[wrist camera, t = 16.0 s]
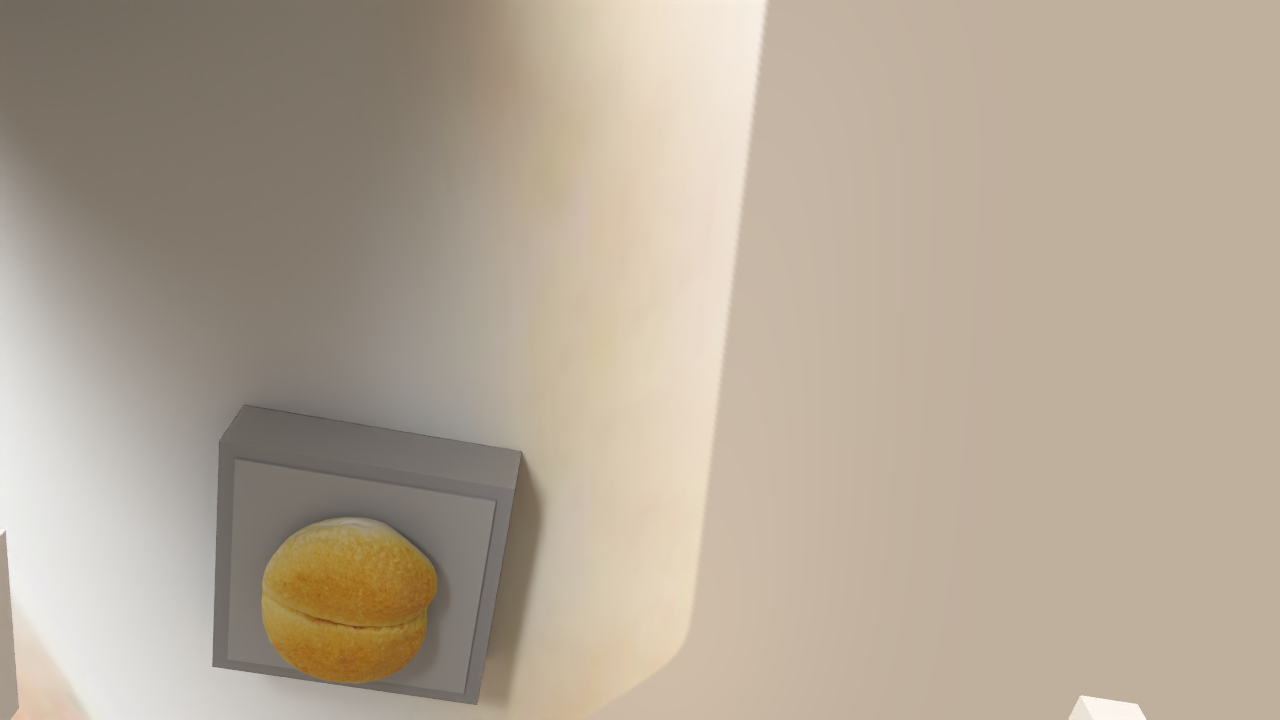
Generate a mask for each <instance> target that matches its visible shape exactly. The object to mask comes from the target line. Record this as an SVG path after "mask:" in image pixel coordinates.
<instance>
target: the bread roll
mask: <svg viewBox="0 0 1280 720" xmlns="http://www.w3.org/2000/svg"><path fill="white" fill-rule="evenodd" d="M436 592H437V575H436V571H435V568H434V566H433V565H432V563H431V562H430V560H429V559H428V558H427V557H426V556H425V555H424V554H423V553H422V552H421V551H420V550H419V549H418V548H416V547H415V546H414V545H413V544H412V543H410V542H409V541H408V540H407V539H406V538H404V537H403V536H402V535H401V534H400V533H398V532H397V531H396V530H395V529H393V528H392V527H390V526H389V525H387V524H386V523H384V522H381V521H377V520H373V519H369V518H363V517H341V518H333V519H327V520H324V521H321V522H317V523H313V524H311V525H309V526H307V527H304V528H302V529H300V530H298V531H297V532H295V533H294V534H292V535H291V536H290V537H289V538H288V539H286V540H285V542H284V543H283V544H282V545H280V547H279V549H278V550H277V551H276V552H275V554H274V555H273V556H272V558H271V559H270V561H269V562H268V564H267V566H266V569H265V572H264V576H263V581H262V600H261V603H262V617H263V624H264V626H265V629H266V632H267V635H268V637H269V640H270V642H271V643H272V645H273V646H274V648H275V650H276V651H277V652H278V653H279V655H280V656H281V657H282V658H283V659H284V660H285V661H286V662H288V663H289V664H290V665H292V666H293V667H294V668H296V669H297V670H299V671H301V672H302V673H305V674H307V675H309V676H312V677H315V678H318V679H321V680H326V681H331V682H339V683H366V682H372V681H377V680H380V679H384V678H386V677H388V676H390V675H392V674H394V673H396V672H398V671H400V670H401V669H403V668H404V667H405V666H406V665H407V664H408V663H409V662H410V661H411V660H412V659H413V658H414V656H415V655H416V654H417V652H418V651H419V649H420V647H421V645H422V643H423V641H424V637H425V633H426V627H427V607H428V606H429V604H430V603H431V602H432V600H433V599H434V597H435V595H436Z"/></svg>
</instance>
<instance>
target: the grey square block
mask: <svg viewBox="0 0 1280 720" xmlns="http://www.w3.org/2000/svg"><path fill="white" fill-rule="evenodd" d="M521 453H522V452H521V451H515V450H509V449H503V448H497V447H491V446H485V445H479V444H473V443H467V442H461V441H455V440H449V439H443V438H437V437H431V436H425V435H419V434H413V433H407V432H401V431H395V430H389V429H383V428H377V427H371V426H365V425H359V424H353V423H347V422H341V421H335V420H329V419H323V418H317V417H311V416H305V415H299V414H293V413H287V412H281V411H275V410H270V409H264V408H258V407H252V406H246V405H244V406H243V407H242V409H241V410H240V412H239V413H238V415H237V416H236V417H235V419H234V420H233V422H232V423H231V425H230V426H229V428H228V429H227V430H226V432H225V433H224V435H223V436H222V438H221V439H220V441H219V469H218V502H217V535H216V568H215V600H214V633H213V666H212V667H218V668H225V669H232V670H239V671H246V672H253V673H260V674H267V675H274V676H281V677H288V678H294V679H301V680H308V681H315V682H322V683H329V684H336V685H343V686H350V687H357V688H364V689H371V690H377V691H384V692H391V693H398V694H405V695H412V696H419V697H426V698H433V699H440V700H447V701H453V702H460V703H467V704H474V705H477V703H478V697H479V691H480V686H481V680H482V675H483V669H484V664H485V658H486V652H487V647H488V641H489V635H490V630H491V624H492V618H493V613H494V607H495V601H496V595H497V590H498V584H499V578H500V573H501V567H502V561H503V556H504V550H505V544H506V539H507V533H508V527H509V521H510V516H511V510H512V504H513V499H514V493H515V487H516V482H517V476H518V470H519V464H520V459H521ZM341 517H363V518H369V519H373V520H377V521H381V522H384V523H386V524H387V525H389V526H390V527H392V528H393V529H395V530H396V531H397V532H398V533H400V534H401V535H402V536H403V537H404V538H406V539H407V540H408V541H409V542H410V543H412V544H413V545H414V546H415V547H416V548H418V549H419V550H420V551H421V552H422V553H423V554H424V555H425V556H426V557H427V558H428V559H429V560H430V562H431V563H432V565H433V566H434V568H435V571H436V575H437V592H436V595H435V597H434V599H433V600H432V602H431V603H430V604H429V606H428V607H427V627H426V633H425V637H424V641H423V643H422V645H421V647H420V649H419V651H418V652H417V654H416V655H415V656H414V658H413V659H412V660H411V661H410V662H409V663H408V664H407V665H406V666H405V667H404V668H403V669H401V670H400V671H398V672H396V673H394V674H392V675H390V676H388V677H386V678H384V679H380V680H377V681H372V682H366V683H339V682H331V681H326V680H321V679H318V678H315V677H312V676H309V675H307V674H305V673H302V672H301V671H299V670H297V669H296V668H294V667H293V666H292V665H290V664H289V663H288V662H286V661H285V660H284V659H283V658H282V657H281V656H280V655H279V653H278V652H277V651H276V650H275V648H274V646H273V645H272V643H271V642H270V640H269V637H268V635H267V632H266V629H265V626H264V624H263V617H262V603H261V600H262V581H263V576H264V572H265V569H266V566H267V564H268V562H269V561H270V559H271V558H272V556H273V555H274V554H275V552H276V551H277V550H278V549H279V547H280V545H282V544H283V543H284V542H285V540H286V539H288V538H289V537H290V536H291V535H292V534H294V533H295V532H297V531H298V530H300V529H302V528H304V527H307V526H309V525H311V524H313V523H317V522H321V521H324V520H327V519H333V518H341Z"/></svg>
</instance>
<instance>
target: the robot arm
mask: <svg viewBox="0 0 1280 720" xmlns="http://www.w3.org/2000/svg"><path fill="white" fill-rule="evenodd" d="M18 708H19V705H18V692H17V679H16V665H15V652H14V639H13V625H12V612H11V598H10V585H9V572H8V558H7V545H6V531H5V530H0V720H10V719H11V718H12V717H13V715H14V714H15V712H16V711H17V710H18ZM1068 720H1146V718H1145V717H1144V715H1143V713H1142V712H1141V710H1140V708H1139V706H1138V705H1137V704H1133V703H1126V702H1119V701H1113V700H1107V699H1100V698H1093V697H1087V696H1080V697H1079V700H1078V702H1077V703H1076V705H1075V707H1074V709H1073V711H1072V713H1071V715H1070V717H1069V719H1068Z"/></svg>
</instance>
